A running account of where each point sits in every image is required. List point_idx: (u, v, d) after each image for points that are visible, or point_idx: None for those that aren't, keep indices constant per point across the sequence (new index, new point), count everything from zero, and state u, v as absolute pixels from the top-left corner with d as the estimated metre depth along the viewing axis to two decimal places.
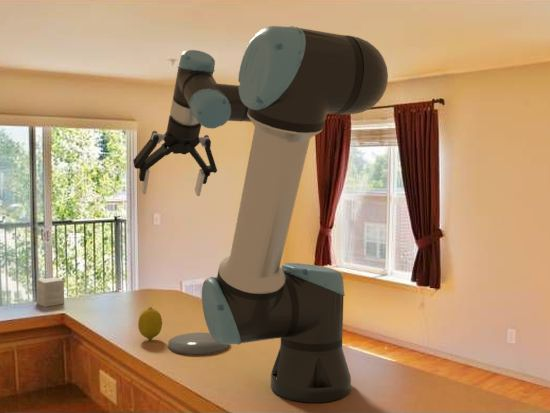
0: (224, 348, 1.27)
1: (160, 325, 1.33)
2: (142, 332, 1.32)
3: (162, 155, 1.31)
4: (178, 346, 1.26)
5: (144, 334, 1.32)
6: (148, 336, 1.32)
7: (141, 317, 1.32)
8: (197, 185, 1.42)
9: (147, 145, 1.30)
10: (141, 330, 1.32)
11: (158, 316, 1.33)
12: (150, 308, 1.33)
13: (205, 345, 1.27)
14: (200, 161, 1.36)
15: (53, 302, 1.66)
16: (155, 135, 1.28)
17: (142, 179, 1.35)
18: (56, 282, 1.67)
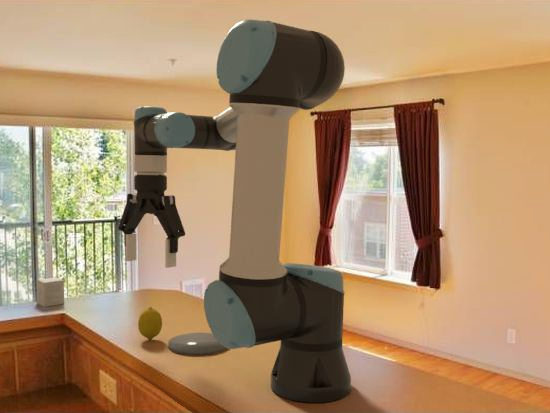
0: (224, 348, 1.27)
1: (160, 325, 1.33)
2: (142, 332, 1.32)
3: (134, 215, 1.33)
4: (178, 346, 1.26)
5: (144, 334, 1.32)
6: (148, 336, 1.32)
7: (141, 317, 1.32)
8: None
9: None
10: (141, 330, 1.32)
11: (158, 316, 1.33)
12: (150, 308, 1.33)
13: (205, 345, 1.27)
14: (162, 222, 1.28)
15: (53, 302, 1.66)
16: None
17: None
18: (56, 282, 1.67)
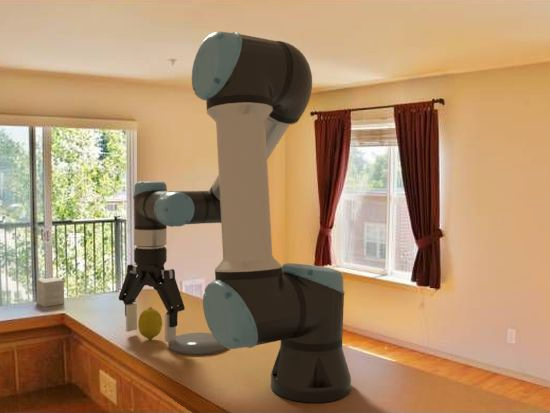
0: (224, 348, 1.27)
1: (160, 325, 1.33)
2: (142, 332, 1.32)
3: (135, 286, 1.34)
4: (178, 346, 1.26)
5: (144, 334, 1.32)
6: (148, 336, 1.32)
7: (141, 317, 1.32)
8: None
9: None
10: (141, 330, 1.32)
11: (158, 316, 1.33)
12: (150, 308, 1.33)
13: (205, 345, 1.27)
14: (162, 296, 1.29)
15: (53, 302, 1.66)
16: None
17: None
18: (56, 282, 1.67)
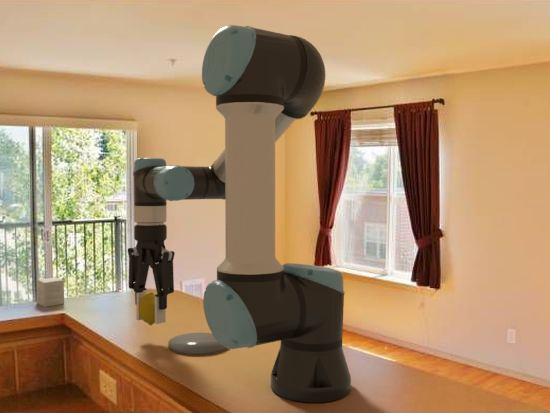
0: (224, 348, 1.27)
1: None
2: (143, 317, 1.31)
3: (139, 268, 1.33)
4: (178, 346, 1.26)
5: (145, 319, 1.31)
6: (149, 321, 1.31)
7: (142, 302, 1.31)
8: None
9: None
10: (141, 315, 1.31)
11: None
12: (151, 293, 1.32)
13: (205, 345, 1.27)
14: (156, 276, 1.30)
15: (53, 302, 1.66)
16: None
17: (137, 303, 1.35)
18: (56, 282, 1.67)
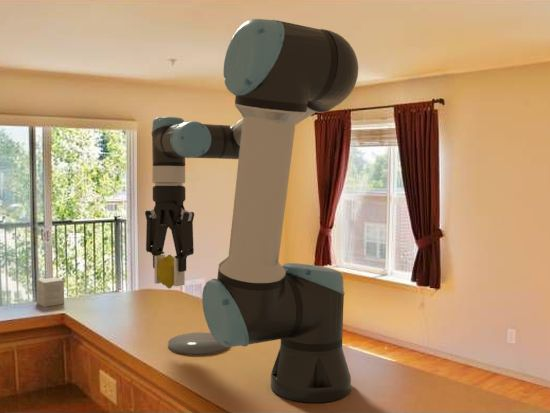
0: (224, 348, 1.27)
1: None
2: (161, 280, 1.29)
3: (158, 230, 1.31)
4: (178, 346, 1.26)
5: (163, 281, 1.29)
6: (167, 283, 1.29)
7: (160, 264, 1.29)
8: None
9: None
10: (160, 277, 1.29)
11: None
12: (169, 255, 1.30)
13: (205, 345, 1.27)
14: (175, 238, 1.28)
15: (53, 302, 1.66)
16: None
17: (155, 266, 1.32)
18: (56, 282, 1.67)
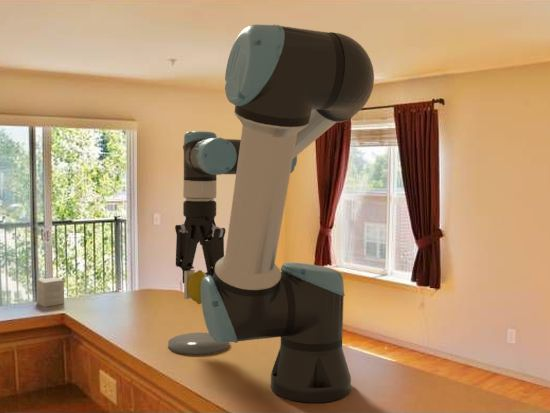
0: (224, 348, 1.27)
1: None
2: (192, 296, 1.28)
3: (188, 245, 1.29)
4: (178, 346, 1.26)
5: (194, 297, 1.28)
6: (198, 300, 1.28)
7: (191, 280, 1.28)
8: None
9: None
10: (190, 293, 1.28)
11: None
12: (200, 271, 1.29)
13: (205, 345, 1.27)
14: (206, 254, 1.26)
15: (53, 302, 1.66)
16: None
17: None
18: (56, 282, 1.67)
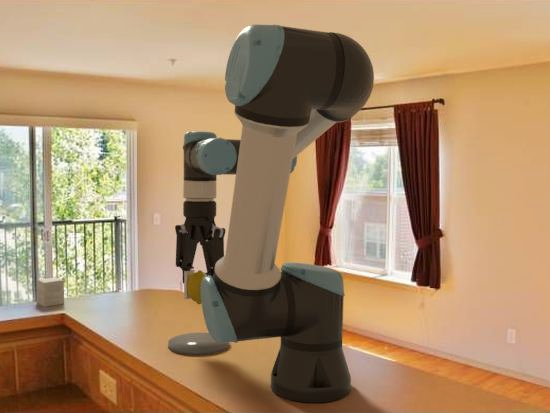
0: (224, 348, 1.27)
1: None
2: (192, 296, 1.28)
3: (188, 246, 1.29)
4: (178, 346, 1.26)
5: (194, 298, 1.28)
6: (198, 300, 1.28)
7: (191, 280, 1.28)
8: None
9: None
10: (190, 294, 1.28)
11: None
12: (200, 271, 1.29)
13: (205, 345, 1.27)
14: (206, 254, 1.26)
15: (53, 302, 1.66)
16: None
17: None
18: (56, 282, 1.67)
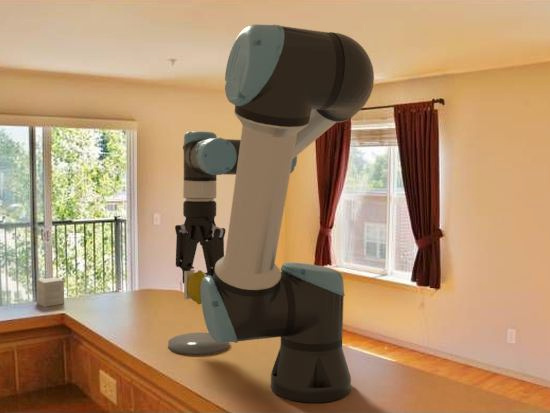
0: (224, 348, 1.27)
1: None
2: (192, 296, 1.28)
3: (188, 246, 1.29)
4: (178, 346, 1.26)
5: (194, 298, 1.28)
6: (198, 300, 1.28)
7: (191, 280, 1.28)
8: None
9: None
10: (190, 294, 1.28)
11: None
12: (200, 271, 1.29)
13: (205, 345, 1.27)
14: (206, 254, 1.26)
15: (53, 302, 1.66)
16: None
17: None
18: (56, 282, 1.67)
